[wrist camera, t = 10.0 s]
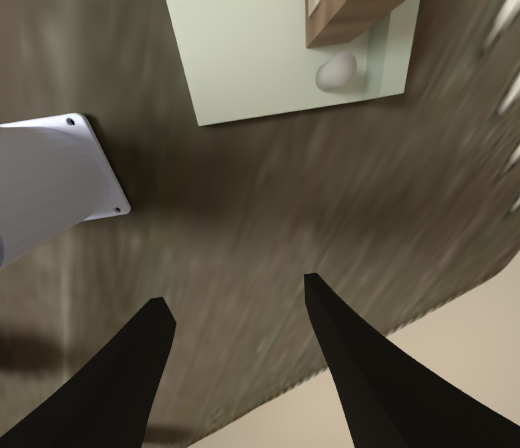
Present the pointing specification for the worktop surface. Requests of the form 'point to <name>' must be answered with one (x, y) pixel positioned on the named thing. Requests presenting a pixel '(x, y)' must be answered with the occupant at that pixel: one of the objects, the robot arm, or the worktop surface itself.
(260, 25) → the ledge board
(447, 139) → the worktop surface
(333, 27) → the brown tapered block
